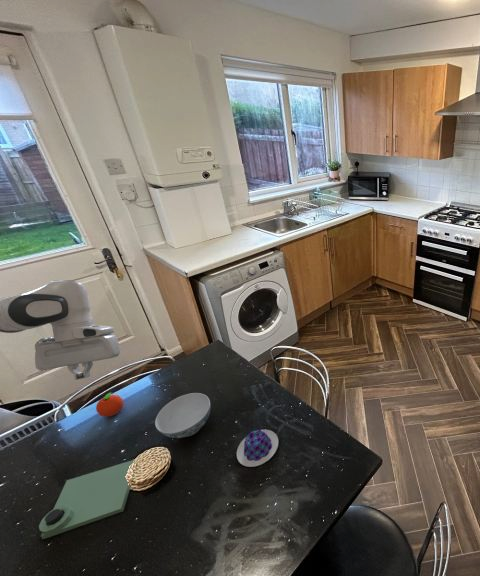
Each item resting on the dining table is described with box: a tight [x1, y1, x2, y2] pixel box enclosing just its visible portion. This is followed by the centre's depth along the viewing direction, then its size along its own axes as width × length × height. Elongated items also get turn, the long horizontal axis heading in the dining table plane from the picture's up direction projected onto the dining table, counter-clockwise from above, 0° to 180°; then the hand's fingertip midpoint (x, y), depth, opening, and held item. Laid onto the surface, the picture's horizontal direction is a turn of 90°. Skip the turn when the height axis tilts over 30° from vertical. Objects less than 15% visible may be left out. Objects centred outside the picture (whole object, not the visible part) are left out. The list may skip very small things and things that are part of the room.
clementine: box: [95, 392, 124, 418], centre depth 104 cm, size 8×7×7 cm
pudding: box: [236, 429, 279, 468], centre depth 93 cm, size 12×12×5 cm
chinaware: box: [154, 392, 212, 439], centre depth 99 cm, size 15×15×8 cm
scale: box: [38, 459, 135, 540], centre depth 82 cm, size 16×14×3 cm
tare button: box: [45, 509, 64, 525], centre depth 75 cm, size 3×3×2 cm
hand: (82, 378), depth 94 cm, fingers closed
